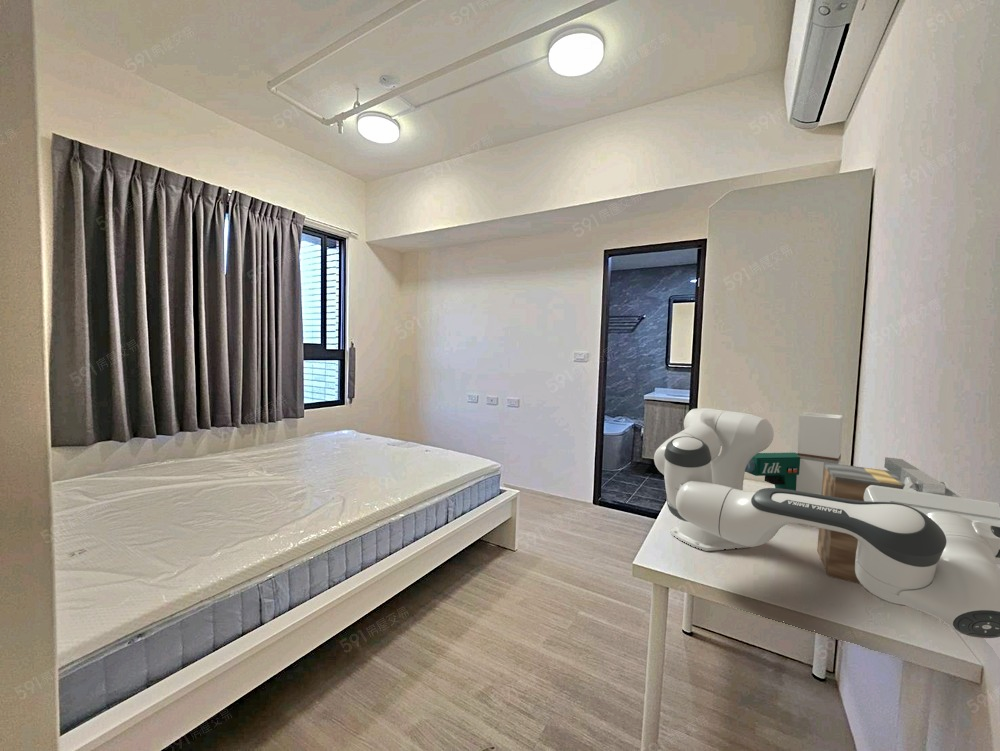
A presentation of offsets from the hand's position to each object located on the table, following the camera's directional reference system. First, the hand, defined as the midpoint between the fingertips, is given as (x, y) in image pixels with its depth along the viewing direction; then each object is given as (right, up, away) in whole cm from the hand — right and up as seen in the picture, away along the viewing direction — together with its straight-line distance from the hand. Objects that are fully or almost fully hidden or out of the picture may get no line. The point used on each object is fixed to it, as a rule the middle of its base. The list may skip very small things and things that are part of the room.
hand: (925, 481), depth 81 cm
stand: (+10, -30, +27) cm, 42 cm away
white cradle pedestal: (+31, -28, +68) cm, 80 cm away
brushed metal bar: (+3, -1, +6) cm, 7 cm away
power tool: (+12, -28, +69) cm, 75 cm away
